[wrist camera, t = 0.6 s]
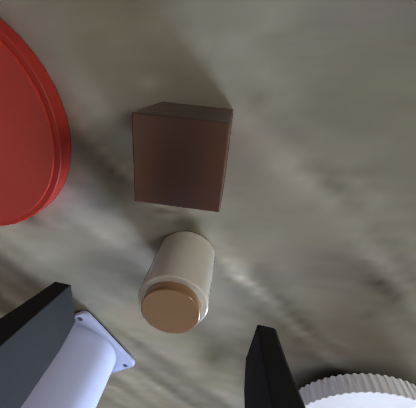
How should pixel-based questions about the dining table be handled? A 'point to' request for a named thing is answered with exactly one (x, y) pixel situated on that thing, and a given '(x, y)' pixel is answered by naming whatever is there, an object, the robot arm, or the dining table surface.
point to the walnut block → (181, 154)
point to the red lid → (29, 132)
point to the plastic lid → (359, 392)
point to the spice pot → (178, 283)
